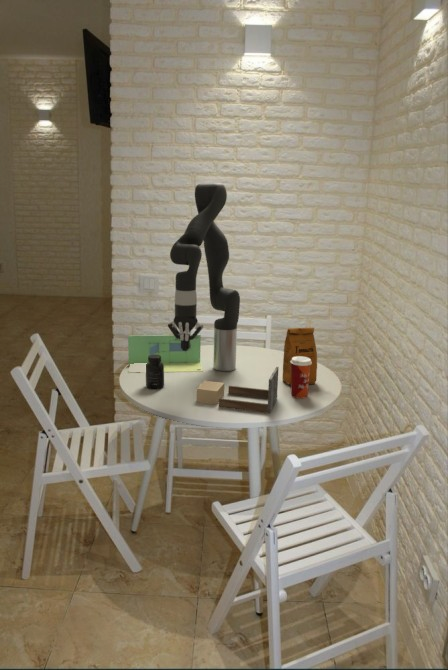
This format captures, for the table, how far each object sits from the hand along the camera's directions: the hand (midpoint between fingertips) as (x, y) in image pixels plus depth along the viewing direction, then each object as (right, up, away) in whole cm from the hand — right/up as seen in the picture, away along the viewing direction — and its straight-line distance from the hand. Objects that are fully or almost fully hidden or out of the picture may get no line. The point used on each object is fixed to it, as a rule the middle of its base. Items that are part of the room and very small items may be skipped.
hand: (185, 350), depth 210 cm
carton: (+9, -18, +2) cm, 20 cm away
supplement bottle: (-12, -14, +12) cm, 22 cm away
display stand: (-11, -8, +35) cm, 38 cm away
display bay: (+22, -18, -1) cm, 29 cm away
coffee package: (+43, -13, +21) cm, 49 cm away
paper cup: (+41, -17, +7) cm, 45 cm away
